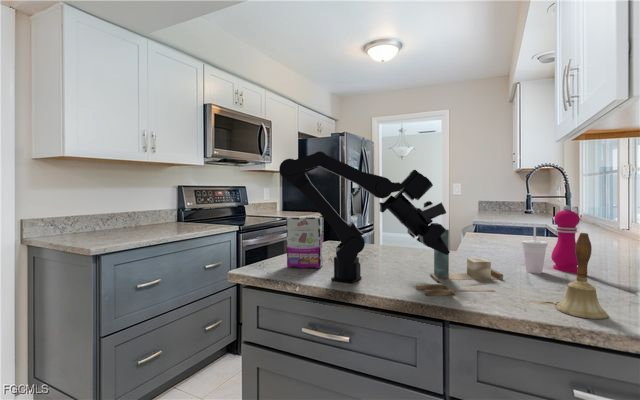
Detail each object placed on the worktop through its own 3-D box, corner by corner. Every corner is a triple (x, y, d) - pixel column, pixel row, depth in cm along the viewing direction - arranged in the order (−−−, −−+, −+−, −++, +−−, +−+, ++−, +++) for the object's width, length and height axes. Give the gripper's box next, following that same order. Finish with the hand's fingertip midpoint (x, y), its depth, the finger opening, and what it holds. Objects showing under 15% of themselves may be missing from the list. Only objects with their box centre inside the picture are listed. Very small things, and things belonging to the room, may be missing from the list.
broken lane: (421, 295, 79) (421, 291, 79) (414, 286, 86) (414, 282, 86) (498, 295, 78) (498, 291, 78) (484, 287, 85) (484, 283, 85)
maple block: (473, 278, 89) (473, 261, 89) (466, 274, 94) (467, 258, 94) (490, 278, 89) (490, 261, 89) (483, 274, 94) (483, 258, 94)
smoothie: (523, 276, 95) (523, 227, 94) (519, 271, 101) (519, 225, 100) (549, 278, 92) (550, 228, 92) (544, 273, 98) (544, 225, 98)
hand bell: (585, 304, 72) (586, 230, 71) (619, 319, 64) (621, 235, 63) (546, 304, 72) (547, 230, 71) (575, 319, 64) (577, 236, 63)
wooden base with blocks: (437, 283, 89) (437, 230, 88) (430, 276, 95) (430, 227, 95) (502, 283, 88) (503, 230, 88) (491, 277, 95) (491, 227, 94)
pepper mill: (571, 269, 102) (572, 204, 102) (587, 276, 95) (588, 205, 94) (545, 269, 103) (546, 204, 102) (560, 275, 96) (561, 205, 95)
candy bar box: (323, 265, 111) (322, 216, 110) (320, 269, 106) (320, 217, 105) (290, 264, 113) (289, 215, 112) (286, 267, 108) (285, 217, 107)
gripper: (437, 191, 82) (482, 236, 82) (418, 191, 101) (455, 227, 101) (404, 223, 83) (450, 268, 83) (392, 217, 101) (428, 253, 101)
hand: (446, 252), depth 92 cm, fingers closed on wooden base with blocks, 3 cm apart
